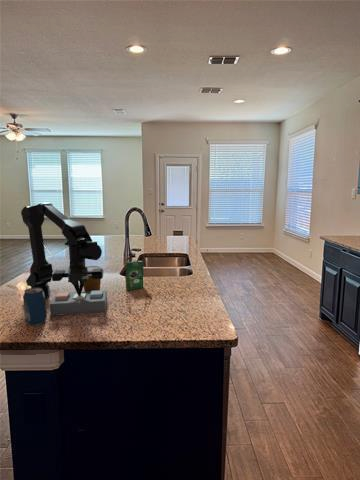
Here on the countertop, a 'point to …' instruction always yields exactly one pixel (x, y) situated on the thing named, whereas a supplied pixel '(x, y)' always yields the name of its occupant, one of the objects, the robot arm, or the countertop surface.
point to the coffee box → (134, 275)
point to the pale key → (83, 296)
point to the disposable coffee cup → (92, 281)
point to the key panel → (78, 304)
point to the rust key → (62, 296)
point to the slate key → (96, 294)
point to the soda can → (34, 306)
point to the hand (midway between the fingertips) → (79, 295)
